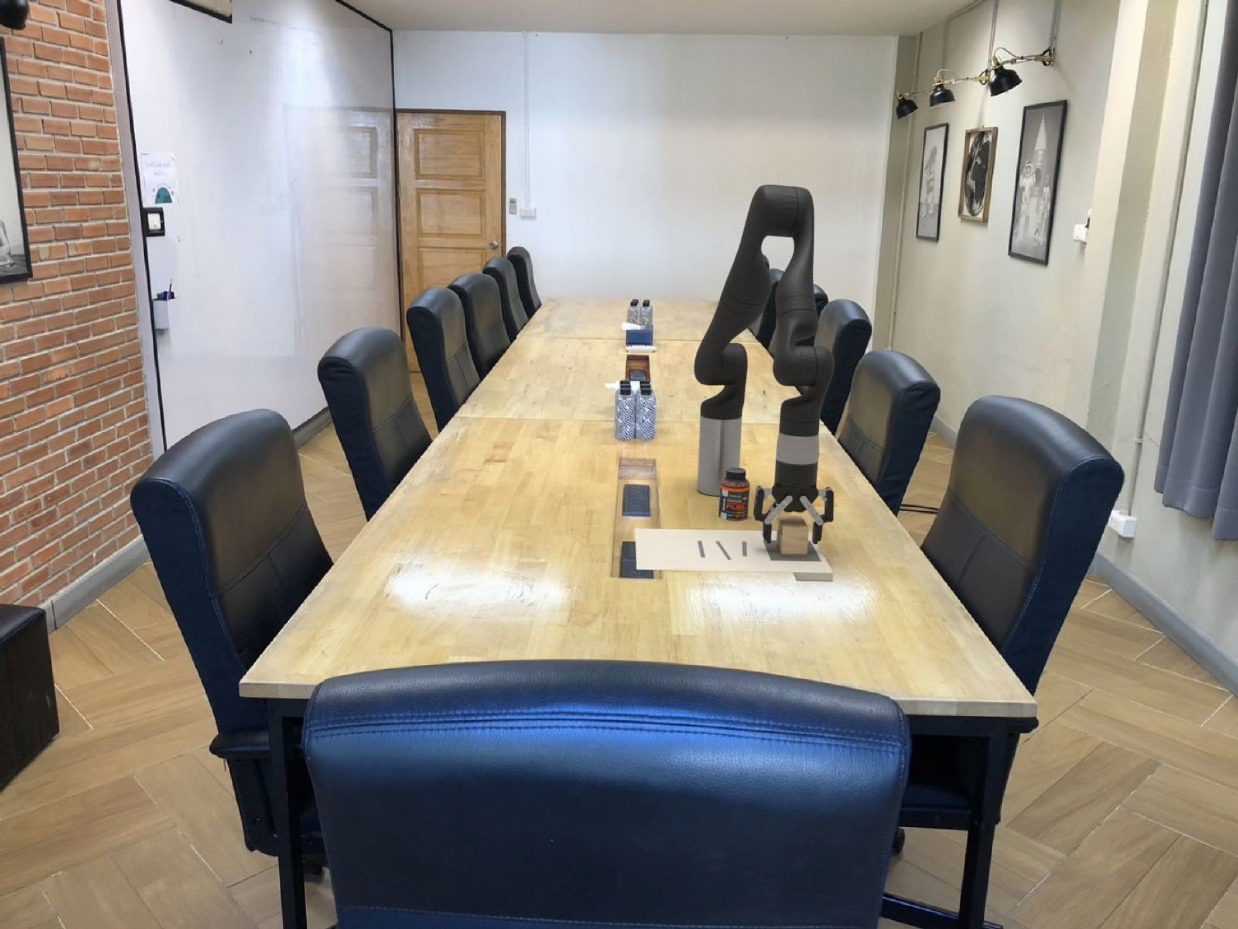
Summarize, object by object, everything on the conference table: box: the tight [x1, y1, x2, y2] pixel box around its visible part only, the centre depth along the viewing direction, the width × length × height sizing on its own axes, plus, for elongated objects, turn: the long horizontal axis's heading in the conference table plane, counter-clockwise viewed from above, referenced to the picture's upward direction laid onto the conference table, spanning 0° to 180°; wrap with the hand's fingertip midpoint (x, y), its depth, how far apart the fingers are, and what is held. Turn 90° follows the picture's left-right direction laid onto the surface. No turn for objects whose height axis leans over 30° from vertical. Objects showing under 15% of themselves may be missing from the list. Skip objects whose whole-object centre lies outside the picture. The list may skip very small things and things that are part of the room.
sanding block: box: [776, 515, 810, 557], centre depth 186 cm, size 7×4×6 cm, turn 0°
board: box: [634, 528, 834, 582], centre depth 187 cm, size 22×34×2 cm, turn 90°
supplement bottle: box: [718, 467, 751, 522], centre depth 205 cm, size 6×6×11 cm
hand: (791, 542), depth 186 cm, fingers open, 8 cm apart
